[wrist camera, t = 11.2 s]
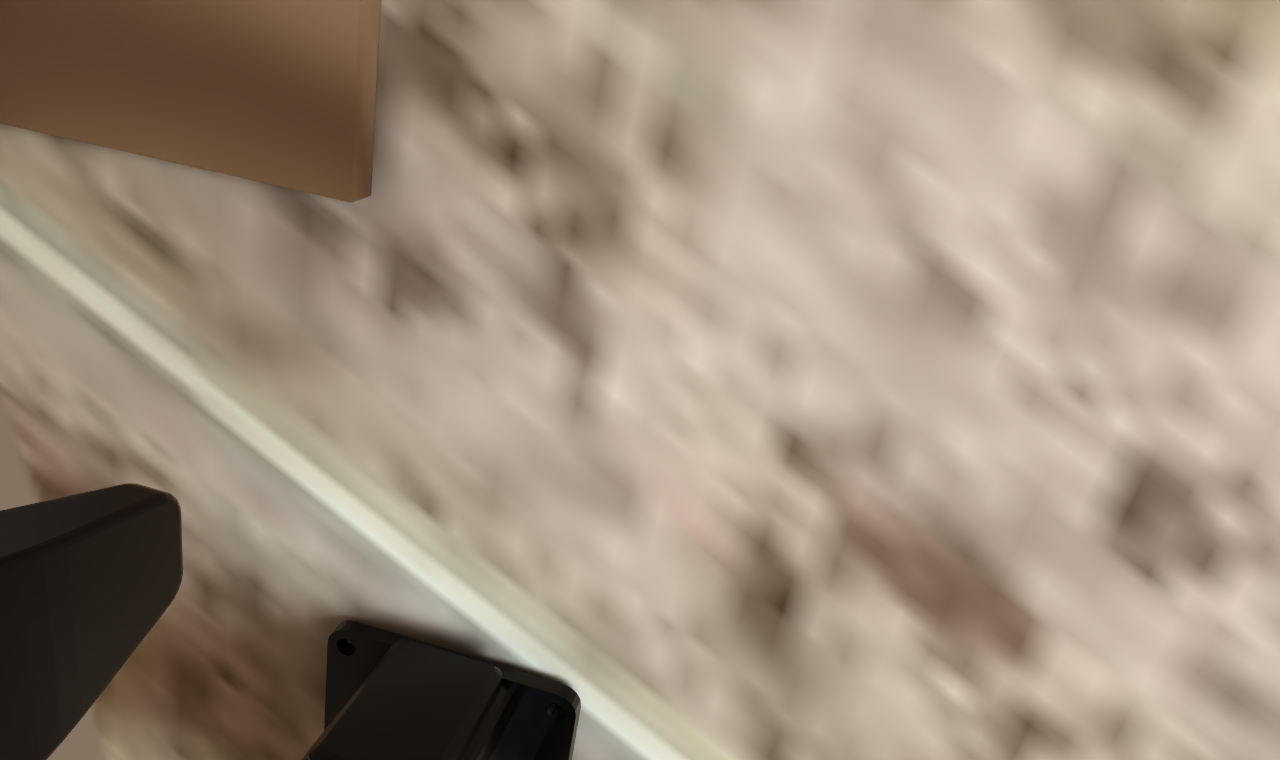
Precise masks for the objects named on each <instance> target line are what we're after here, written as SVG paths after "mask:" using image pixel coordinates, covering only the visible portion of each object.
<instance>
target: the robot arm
mask: <svg viewBox="0 0 1280 760" xmlns="http://www.w3.org/2000/svg"><path fill="white" fill-rule="evenodd" d="M182 575H183V556H182V526H181V508H180V505H179V503H178V501H177V499H176V498H175V497H174V496H173V495H171V494H170V493H167V492H163V491H160V490H157V489H153V488H150V487H146V486H143V485H139V484H130V483H129V484H122V485H118V486H113V487H109V488H104V489H99V490H95V491H90V492H86V493H81V494H76V495H72V496H67V497H62V498H58V499H53V500H49V501H44V502H39V503H35V504H30V505H25V506H21V507H16V508H12V509H7V510H2V511H0V760H46V759H47V758H48V757H49V756H50V755H51V754H52V753H53V751H54V750H55V749H56V748H57V747H58V746H59V745H60V744H61V743H62V741H63V740H64V739H65V738H66V737H67V735H68V734H69V733H70V732H71V730H72V729H73V728H74V727H75V726H76V724H77V723H78V722H79V721H80V719H81V718H82V717H83V716H84V714H85V713H86V712H87V711H88V709H89V708H90V707H91V706H92V704H93V703H94V702H95V700H96V699H97V698H98V697H99V695H100V694H101V693H102V691H103V690H104V689H105V687H106V686H107V685H108V684H109V682H110V681H111V680H112V678H113V677H114V676H115V675H116V673H117V672H118V671H119V669H120V668H121V667H122V666H123V664H124V663H125V662H126V660H127V659H128V658H129V657H130V655H131V654H132V653H133V651H134V650H135V649H136V647H137V646H138V645H139V644H140V642H141V641H142V640H143V638H144V637H145V636H146V635H147V633H148V632H149V631H150V629H151V628H152V627H153V626H154V624H155V623H156V622H157V620H158V619H159V618H160V617H161V615H162V614H163V613H164V611H165V610H166V609H167V607H168V606H169V605H170V604H171V602H172V601H173V599H174V598H175V596H176V594H177V592H178V590H179V587H180V584H181V580H182ZM346 639H348V640H350V641H351V642H352V643H353V644H354V645H355V646H353V645H351V644H349V643H348V641H347V640H346ZM553 703H558V704H560V705H562V706H563V707H564V709H559V708H557V707H555V706H554V704H553ZM580 708H581V703H580V698H579V696H578V694H577V693H576V692H575V691H574V690H573V689H572V688H570V687H568V686H566V685H564V684H561V683H557V682H554V681H551V680H547V679H544V678H541V677H537V676H534V675H531V674H527V673H524V672H521V671H518V670H514V669H511V668H508V667H504V666H501V665H498V664H494V663H491V662H488V661H484V660H481V659H478V658H474V657H471V656H468V655H464V654H461V653H458V652H454V651H451V650H448V649H444V648H441V647H438V646H434V645H431V644H428V643H425V642H421V641H418V640H415V639H411V638H408V637H405V636H401V635H398V634H395V633H391V632H388V631H385V630H381V629H378V628H375V627H371V626H368V625H365V624H361V623H358V622H354V621H345V622H342V623H341V624H340V625H339V626H338V627H337V628H336V629H335V630H334V631H333V633H332V634H331V635H330V636H329V639H328V651H327V677H326V702H325V728H324V732H323V733H322V734H321V736H320V737H319V738H318V739H317V741H316V742H315V743H314V744H313V746H312V747H311V748H310V750H309V751H308V752H307V753H306V755H305V756H304V757H303V759H302V760H572V754H573V749H574V743H575V737H576V731H577V725H578V720H579V714H580Z"/></svg>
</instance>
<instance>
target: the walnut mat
mask: <svg viewBox="0 0 1280 760" xmlns="http://www.w3.org/2000/svg"><path fill="white" fill-rule="evenodd" d="M380 3H381V0H0V123H2V124H6V125H11V126H15V127H20V128H24V129H29V130H33V131H37V132H42V133H46V134H51V135H55V136H60V137H64V138H68V139H73V140H77V141H82V142H86V143H90V144H95V145H99V146H104V147H108V148H113V149H117V150H121V151H126V152H130V153H135V154H139V155H144V156H148V157H152V158H157V159H161V160H166V161H170V162H175V163H179V164H183V165H188V166H192V167H197V168H201V169H206V170H210V171H214V172H219V173H223V174H228V175H232V176H236V177H241V178H245V179H250V180H254V181H259V182H263V183H267V184H272V185H276V186H281V187H285V188H290V189H294V190H298V191H303V192H307V193H312V194H316V195H321V196H325V197H329V198H334V199H338V200H343V201H347V202H354V201H357V200H360V199H362V198H365V197H368V196H371V184H372V164H373V143H374V123H375V103H376V83H377V63H378V43H379V23H380Z"/></svg>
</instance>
